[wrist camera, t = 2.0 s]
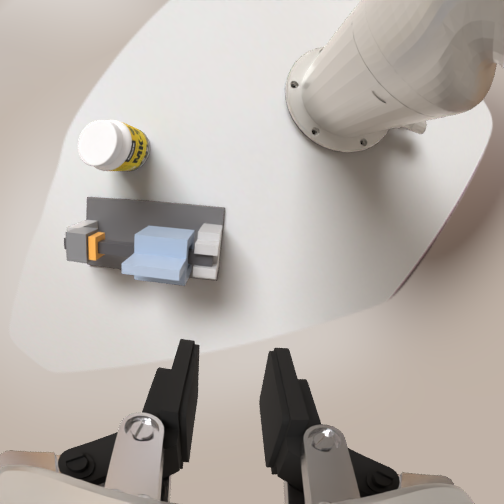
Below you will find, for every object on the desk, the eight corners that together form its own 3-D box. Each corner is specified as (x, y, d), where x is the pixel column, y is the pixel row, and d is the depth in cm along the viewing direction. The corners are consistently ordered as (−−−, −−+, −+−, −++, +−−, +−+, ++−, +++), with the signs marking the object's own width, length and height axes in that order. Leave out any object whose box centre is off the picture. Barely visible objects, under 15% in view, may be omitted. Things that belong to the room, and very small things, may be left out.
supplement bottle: (151, 168, 29) (122, 167, 20) (112, 173, 28) (74, 175, 20) (150, 125, 27) (120, 110, 19) (111, 132, 27) (73, 121, 19)
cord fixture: (224, 207, 30) (220, 217, 23) (217, 279, 32) (212, 306, 25) (88, 197, 29) (56, 204, 22) (88, 263, 31) (60, 283, 24)
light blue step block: (194, 230, 27) (180, 249, 20) (192, 269, 28) (178, 300, 21) (148, 225, 27) (121, 242, 20) (147, 264, 28) (122, 292, 21)
